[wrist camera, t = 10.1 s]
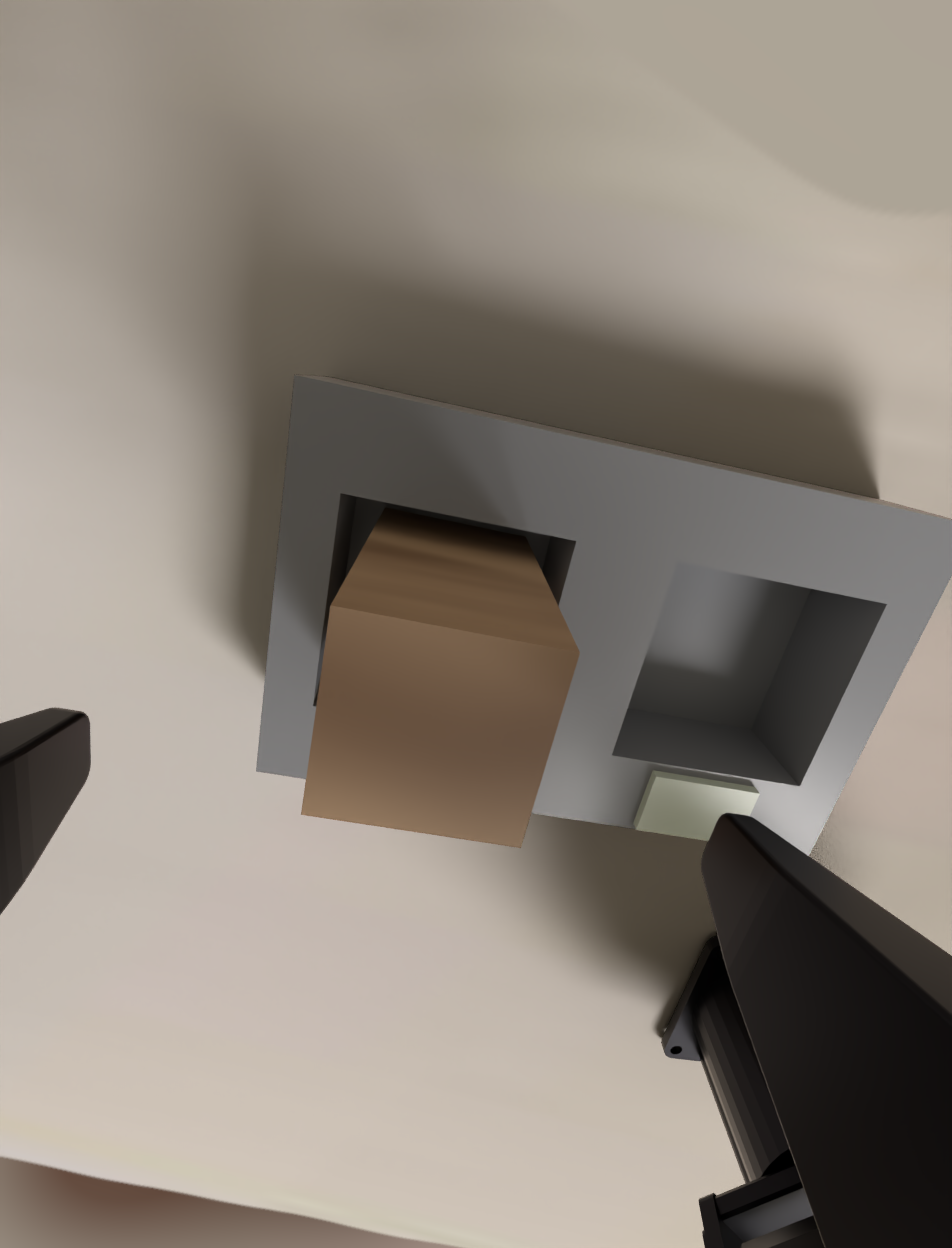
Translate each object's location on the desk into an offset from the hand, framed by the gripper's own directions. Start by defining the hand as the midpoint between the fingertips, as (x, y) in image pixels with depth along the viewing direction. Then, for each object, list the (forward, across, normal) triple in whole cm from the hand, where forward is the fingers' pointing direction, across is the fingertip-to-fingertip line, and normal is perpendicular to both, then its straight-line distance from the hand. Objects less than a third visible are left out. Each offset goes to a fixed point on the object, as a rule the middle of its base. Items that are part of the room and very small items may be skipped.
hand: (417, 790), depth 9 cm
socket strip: (+10, -4, 0) cm, 11 cm away
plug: (+10, 0, 0) cm, 10 cm away
